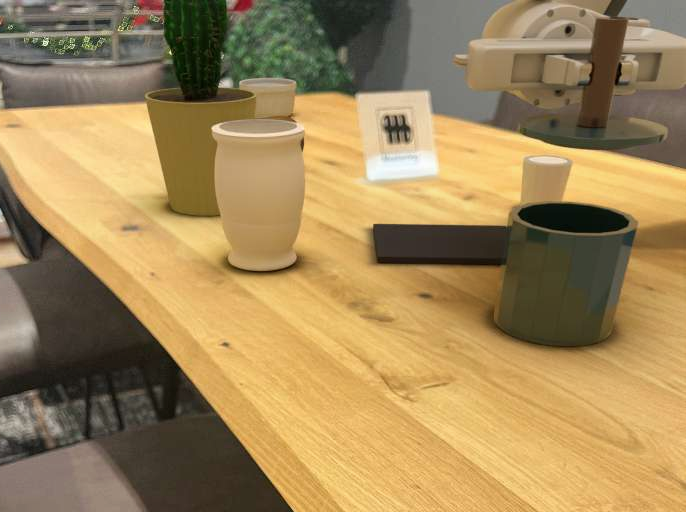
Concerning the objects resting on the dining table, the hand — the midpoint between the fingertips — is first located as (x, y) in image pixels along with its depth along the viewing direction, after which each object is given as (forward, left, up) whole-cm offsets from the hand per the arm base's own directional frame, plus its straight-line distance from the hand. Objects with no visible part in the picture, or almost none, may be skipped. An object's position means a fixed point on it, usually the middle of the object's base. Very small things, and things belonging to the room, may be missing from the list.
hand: (606, 74), depth 64 cm
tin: (+35, -68, -23) cm, 80 cm away
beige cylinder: (-8, -44, -23) cm, 50 cm away
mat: (+8, -26, -22) cm, 35 cm away
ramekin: (+38, -124, -23) cm, 131 cm away
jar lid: (0, -1, -5) cm, 5 cm away
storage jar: (0, -1, -22) cm, 22 cm away
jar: (+31, -19, -23) cm, 43 cm away
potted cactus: (+41, -44, -23) cm, 64 cm away
